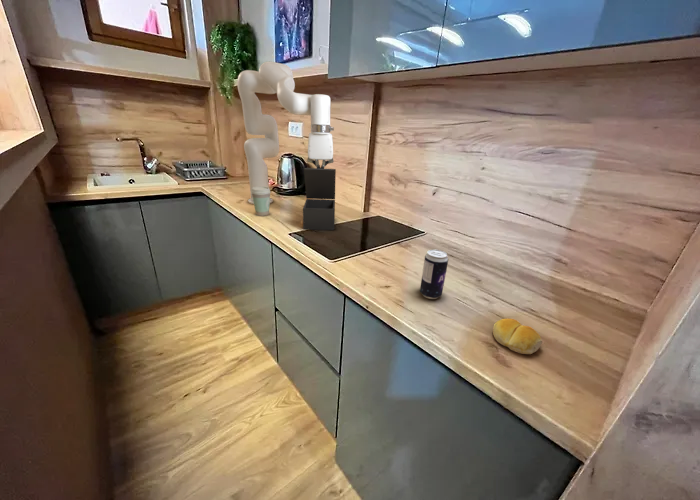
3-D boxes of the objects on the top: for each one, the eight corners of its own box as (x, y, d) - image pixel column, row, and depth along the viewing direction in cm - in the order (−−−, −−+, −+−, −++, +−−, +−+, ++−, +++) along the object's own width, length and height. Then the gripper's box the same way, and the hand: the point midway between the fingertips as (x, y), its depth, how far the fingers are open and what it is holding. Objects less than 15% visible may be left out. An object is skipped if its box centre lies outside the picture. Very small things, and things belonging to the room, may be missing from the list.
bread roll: (503, 323, 70) (507, 308, 68) (544, 345, 63) (550, 329, 61) (482, 335, 65) (487, 320, 64) (524, 361, 58) (530, 344, 57)
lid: (335, 170, 121) (335, 168, 121) (303, 169, 120) (304, 167, 121) (335, 199, 134) (335, 198, 135) (306, 198, 133) (306, 197, 134)
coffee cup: (269, 217, 136) (267, 190, 131) (250, 216, 136) (247, 189, 131) (274, 211, 144) (272, 186, 139) (256, 211, 144) (254, 185, 139)
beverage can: (437, 303, 76) (445, 260, 72) (416, 296, 79) (422, 254, 74) (444, 293, 81) (451, 252, 76) (423, 287, 83) (429, 247, 79)
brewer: (334, 230, 124) (334, 209, 120) (303, 229, 123) (302, 208, 120) (334, 218, 138) (335, 199, 135) (306, 218, 137) (306, 198, 134)
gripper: (339, 130, 123) (338, 176, 130) (302, 128, 122) (303, 175, 129) (339, 130, 116) (338, 179, 123) (300, 129, 115) (301, 178, 122)
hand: (320, 177), depth 126 cm, fingers closed
